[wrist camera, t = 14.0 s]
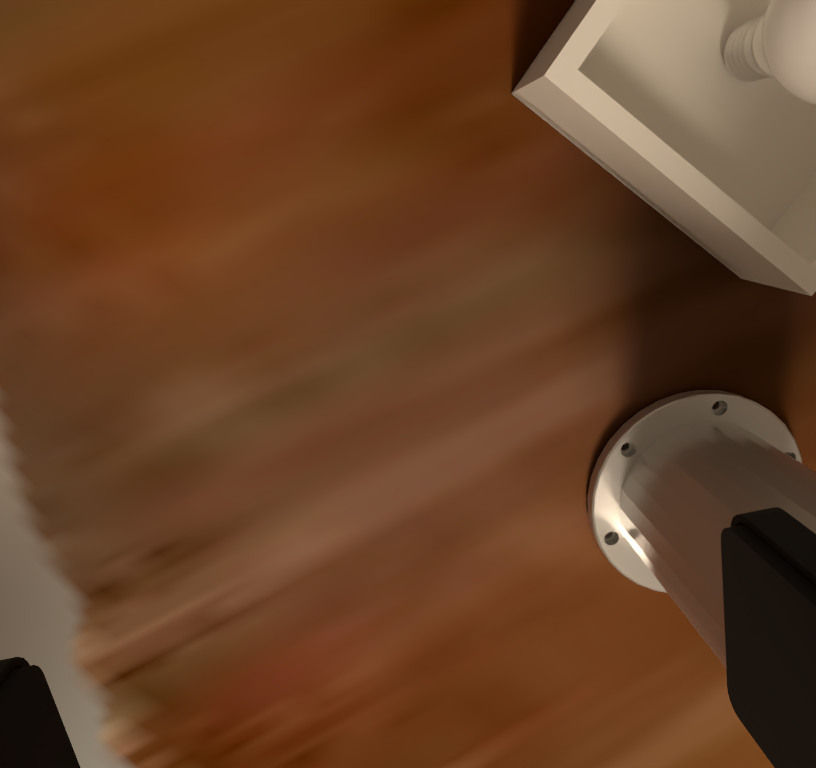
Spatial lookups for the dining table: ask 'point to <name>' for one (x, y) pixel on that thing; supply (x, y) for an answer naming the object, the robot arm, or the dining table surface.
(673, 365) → the dining table surface
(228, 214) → the dining table surface
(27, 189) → the dining table surface
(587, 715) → the dining table surface
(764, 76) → the lightbulb
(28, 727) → the robot arm
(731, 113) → the bin
